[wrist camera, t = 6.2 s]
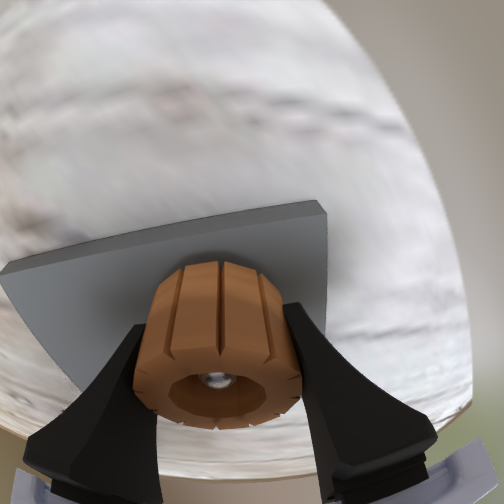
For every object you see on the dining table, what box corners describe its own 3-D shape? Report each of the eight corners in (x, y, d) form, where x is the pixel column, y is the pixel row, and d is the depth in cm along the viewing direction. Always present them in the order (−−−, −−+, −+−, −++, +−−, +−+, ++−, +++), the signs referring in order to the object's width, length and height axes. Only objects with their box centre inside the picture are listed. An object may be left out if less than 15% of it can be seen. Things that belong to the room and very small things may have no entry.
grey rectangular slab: (103, 394, 19) (99, 408, 18) (8, 262, 12) (-4, 276, 11) (315, 377, 19) (320, 394, 18) (316, 199, 12) (326, 213, 11)
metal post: (206, 315, 13) (203, 398, 9) (198, 291, 12) (190, 377, 8) (238, 311, 13) (243, 394, 9) (232, 286, 12) (235, 372, 8)
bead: (176, 361, 13) (170, 430, 10) (133, 274, 10) (102, 353, 7) (287, 347, 13) (302, 418, 10) (277, 250, 10) (300, 332, 7)
